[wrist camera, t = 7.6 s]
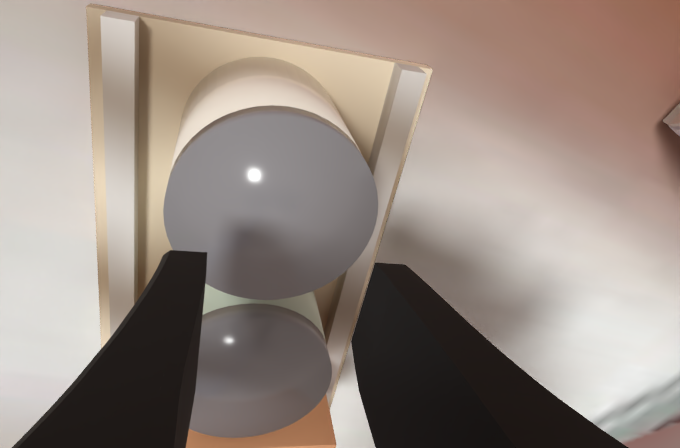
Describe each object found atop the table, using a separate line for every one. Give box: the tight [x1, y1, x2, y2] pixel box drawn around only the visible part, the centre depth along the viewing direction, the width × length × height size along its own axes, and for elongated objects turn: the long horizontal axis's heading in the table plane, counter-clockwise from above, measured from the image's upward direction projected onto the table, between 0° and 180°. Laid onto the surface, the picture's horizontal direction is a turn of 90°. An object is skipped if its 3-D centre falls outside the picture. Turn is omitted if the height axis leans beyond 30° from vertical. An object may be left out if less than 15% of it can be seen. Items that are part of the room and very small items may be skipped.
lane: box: [86, 4, 433, 410], centre depth 17 cm, size 20×10×6 cm, turn 168°
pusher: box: [186, 394, 336, 448], centre depth 18 cm, size 2×7×5 cm, turn 78°
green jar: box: [189, 283, 332, 438], centre depth 16 cm, size 5×5×5 cm
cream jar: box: [163, 57, 378, 300], centre depth 14 cm, size 5×5×5 cm
